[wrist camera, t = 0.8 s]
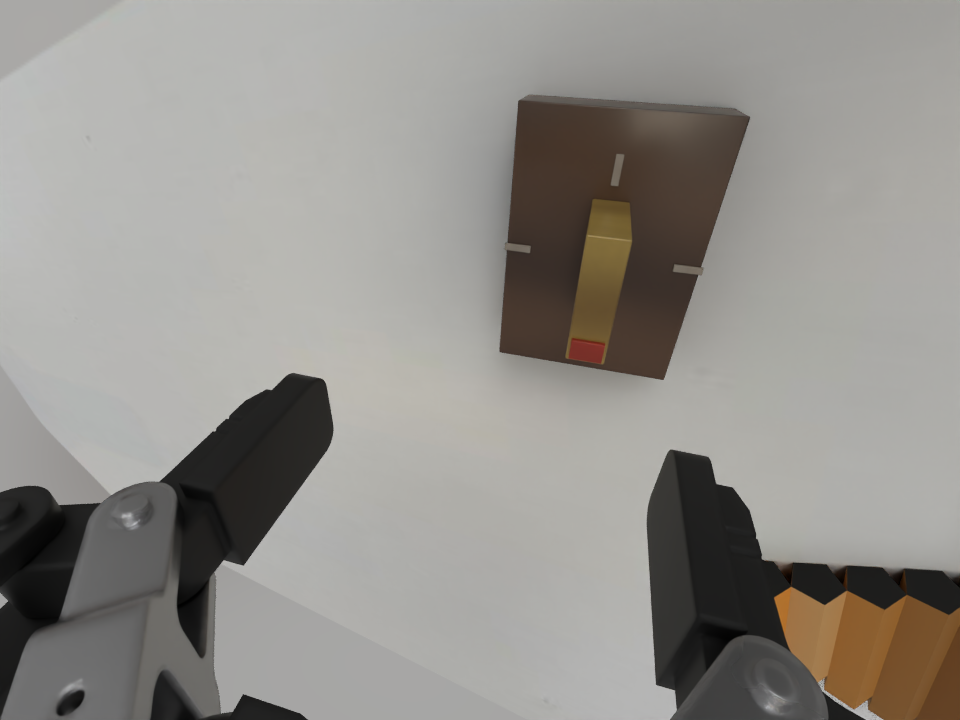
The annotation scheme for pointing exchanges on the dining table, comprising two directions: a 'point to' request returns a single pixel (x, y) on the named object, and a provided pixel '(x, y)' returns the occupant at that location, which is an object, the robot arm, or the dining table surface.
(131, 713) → the robot arm
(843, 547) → the dining table surface
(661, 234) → the panel
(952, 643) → the pan flute
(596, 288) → the lock knob
